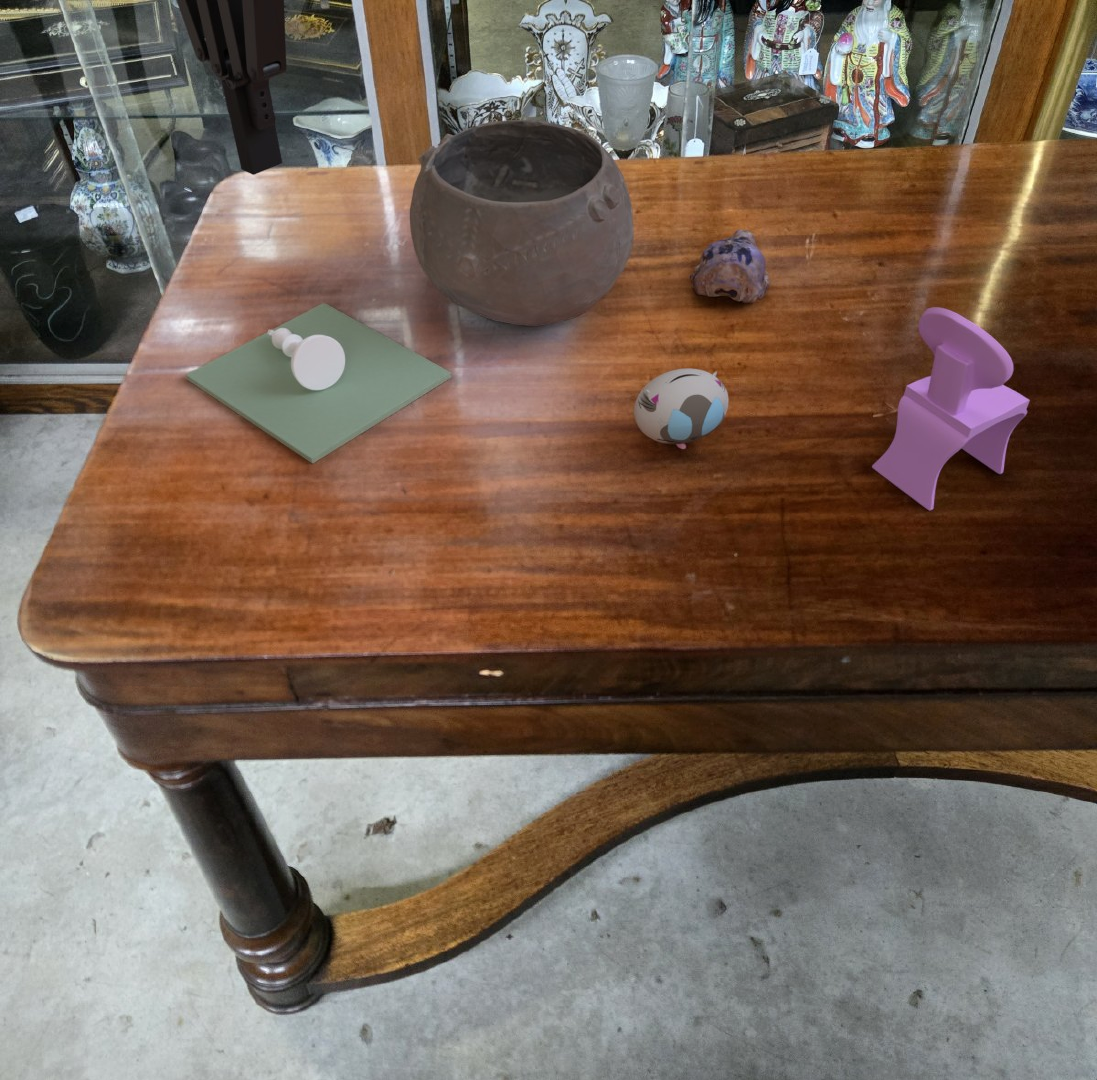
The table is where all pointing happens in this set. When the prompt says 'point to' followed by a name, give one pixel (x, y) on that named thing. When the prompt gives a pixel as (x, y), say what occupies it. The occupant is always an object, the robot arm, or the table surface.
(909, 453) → the toy chair
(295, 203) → the table surface
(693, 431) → the figurine
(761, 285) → the purple rounded piece
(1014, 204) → the table surface
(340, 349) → the chess piece
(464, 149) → the clay pot
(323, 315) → the mat
